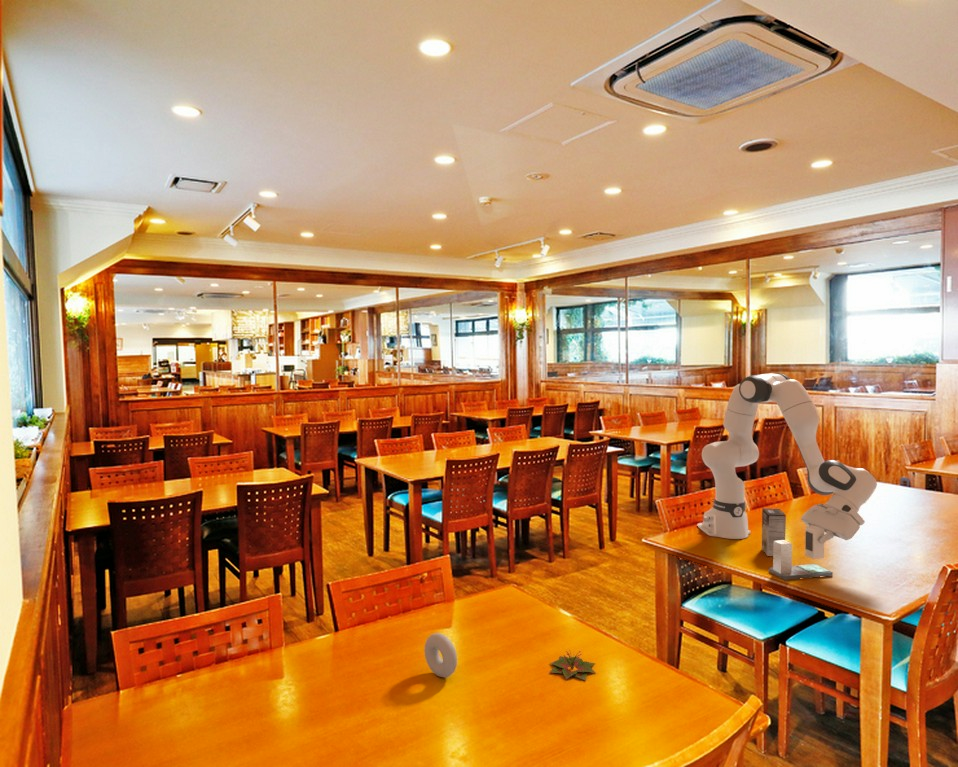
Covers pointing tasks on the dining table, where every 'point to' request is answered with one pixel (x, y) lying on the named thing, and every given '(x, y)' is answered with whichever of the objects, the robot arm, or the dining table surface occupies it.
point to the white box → (814, 542)
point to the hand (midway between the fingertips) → (814, 539)
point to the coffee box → (772, 528)
